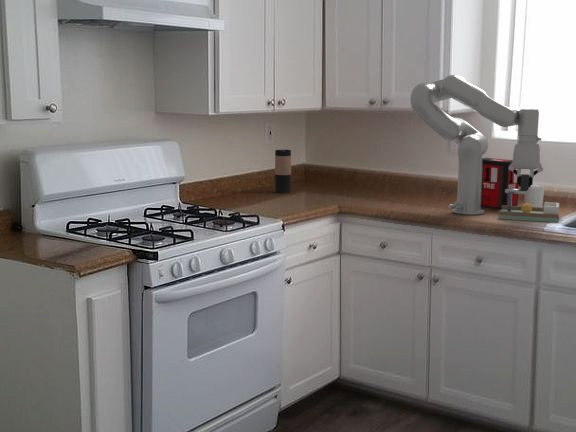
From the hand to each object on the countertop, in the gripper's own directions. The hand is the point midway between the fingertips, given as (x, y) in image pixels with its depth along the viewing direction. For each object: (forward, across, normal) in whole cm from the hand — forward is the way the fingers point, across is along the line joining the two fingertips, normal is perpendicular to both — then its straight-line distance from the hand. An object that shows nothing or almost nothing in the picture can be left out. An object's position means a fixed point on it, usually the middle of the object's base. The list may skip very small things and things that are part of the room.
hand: (524, 186), depth 312 cm
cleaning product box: (+12, +13, -23) cm, 29 cm away
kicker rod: (+10, +3, 0) cm, 11 cm away
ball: (+9, -1, 0) cm, 9 cm away
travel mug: (+12, +111, -31) cm, 116 cm away
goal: (+11, -10, 0) cm, 15 cm away
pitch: (+12, -2, 0) cm, 12 cm away
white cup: (+12, -3, -20) cm, 24 cm away
